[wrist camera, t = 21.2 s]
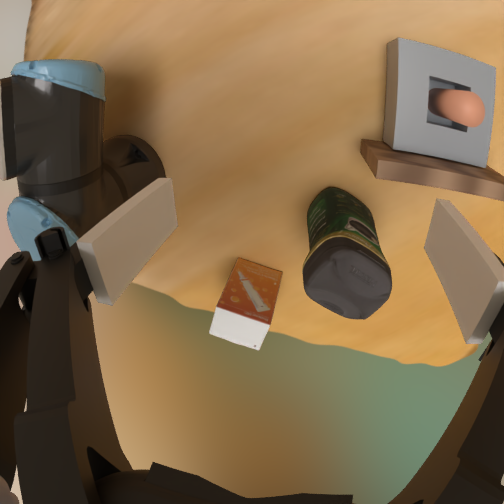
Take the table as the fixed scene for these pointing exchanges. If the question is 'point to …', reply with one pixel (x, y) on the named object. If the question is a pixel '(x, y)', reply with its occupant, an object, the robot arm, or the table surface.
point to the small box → (246, 304)
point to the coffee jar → (345, 257)
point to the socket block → (416, 102)
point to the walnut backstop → (431, 171)
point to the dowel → (457, 106)
